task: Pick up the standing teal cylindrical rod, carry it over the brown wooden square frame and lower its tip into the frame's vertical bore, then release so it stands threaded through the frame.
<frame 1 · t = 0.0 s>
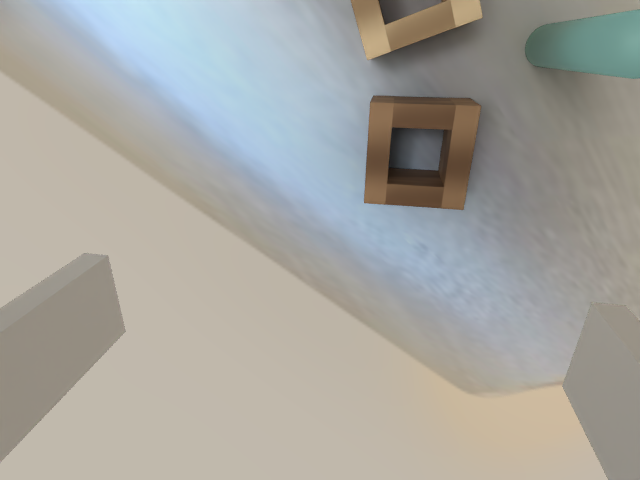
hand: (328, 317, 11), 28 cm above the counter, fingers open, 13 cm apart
teal cylindrical rod: (546, 45, 32), on the counter
brown wooden square frame: (415, 144, 36), on the counter
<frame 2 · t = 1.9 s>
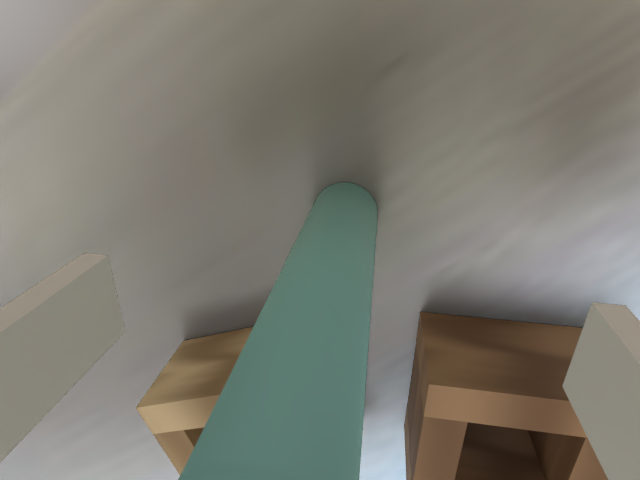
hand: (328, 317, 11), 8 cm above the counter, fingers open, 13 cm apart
teal cylindrical rod: (345, 213, 19), on the counter
brown wooden square frame: (488, 381, 22), on the counter
light wooden square frame: (270, 382, 24), on the counter
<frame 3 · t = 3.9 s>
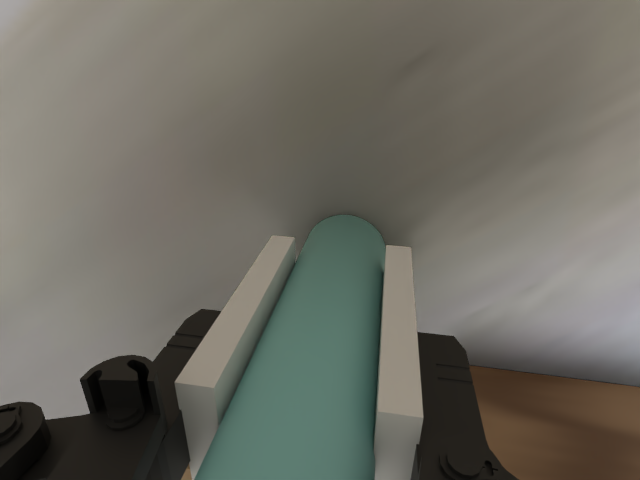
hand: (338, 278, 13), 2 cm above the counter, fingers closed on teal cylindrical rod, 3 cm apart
teal cylindrical rod: (345, 252, 15), on the counter, touching gripper
brown wooden square frame: (522, 443, 18), on the counter
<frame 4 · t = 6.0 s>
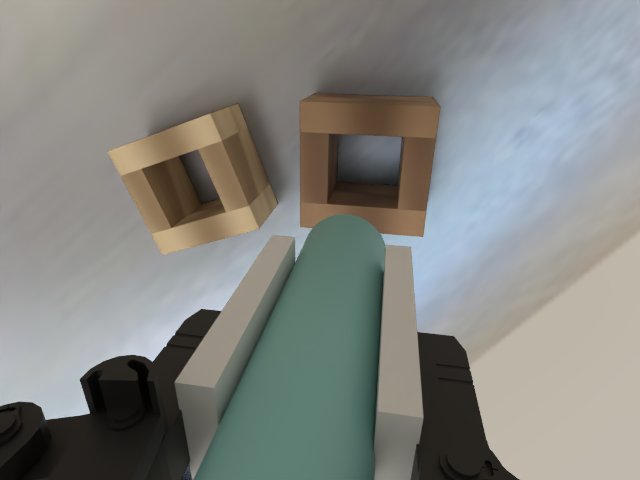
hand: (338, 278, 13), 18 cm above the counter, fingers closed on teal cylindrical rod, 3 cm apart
teal cylindrical rod: (345, 251, 15), point 16 cm above the counter, touching gripper
brown wooden square frame: (368, 153, 30), on the counter
light wooden square frame: (213, 170, 32), on the counter
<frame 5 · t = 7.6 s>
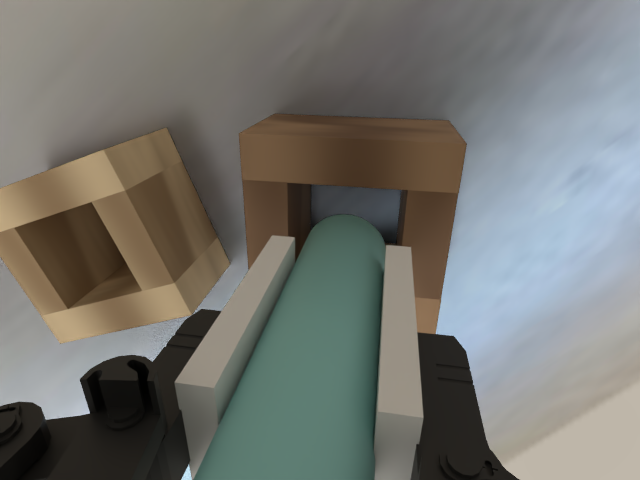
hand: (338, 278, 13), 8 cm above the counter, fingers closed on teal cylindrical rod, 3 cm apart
teal cylindrical rod: (345, 251, 15), point 6 cm above the counter, touching gripper
brown wooden square frame: (354, 199, 21), on the counter
light wooden square frame: (139, 218, 23), on the counter
when the fingers open (5 cm above the counter, at t = 8.7 s): teal cylindrical rod drops 3 cm, on the counter.
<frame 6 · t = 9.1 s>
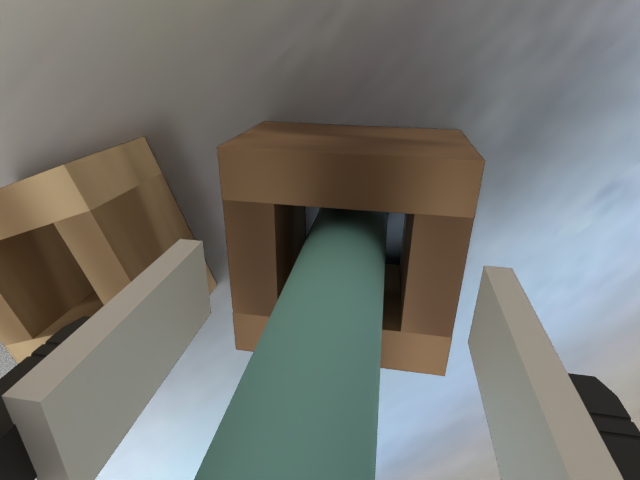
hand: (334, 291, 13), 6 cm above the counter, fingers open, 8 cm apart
teal cylindrical rod: (353, 217, 18), on the counter
brown wooden square frame: (353, 216, 18), on the counter
light wooden square frame: (117, 235, 21), on the counter
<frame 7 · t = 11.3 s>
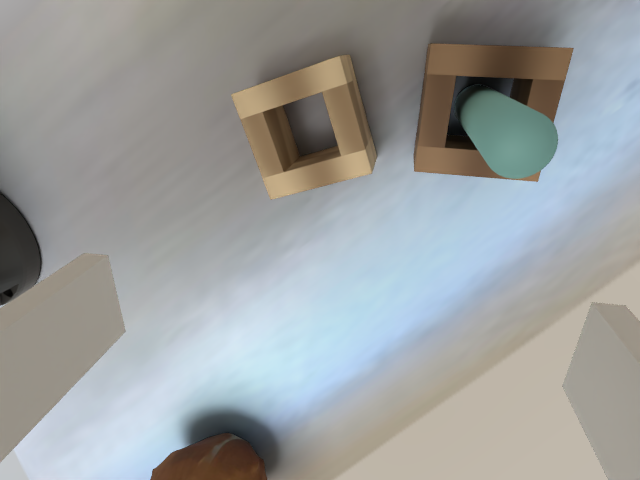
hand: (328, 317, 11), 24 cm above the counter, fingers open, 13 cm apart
teal cylindrical rod: (475, 105, 30), on the counter
butternut squash: (231, 445, 53), on the counter
brown wooden square frame: (475, 105, 30), on the counter
light wooden square frame: (316, 122, 33), on the counter
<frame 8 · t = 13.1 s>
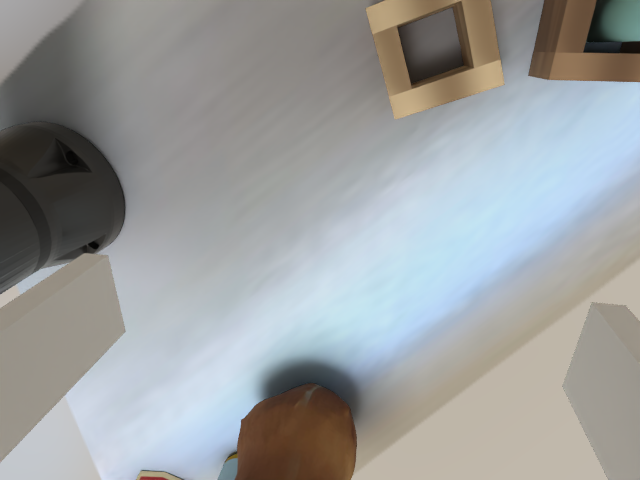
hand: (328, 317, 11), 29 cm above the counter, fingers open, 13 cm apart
teal cylindrical rod: (596, 20, 31), on the counter
bottle: (249, 465, 60), on the counter
butternut squash: (309, 398, 53), on the counter
brown wooden square frame: (596, 20, 31), on the counter
light wooden square frame: (430, 47, 34), on the counter
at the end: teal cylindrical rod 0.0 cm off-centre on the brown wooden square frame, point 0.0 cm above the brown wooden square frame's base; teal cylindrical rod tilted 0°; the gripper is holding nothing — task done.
